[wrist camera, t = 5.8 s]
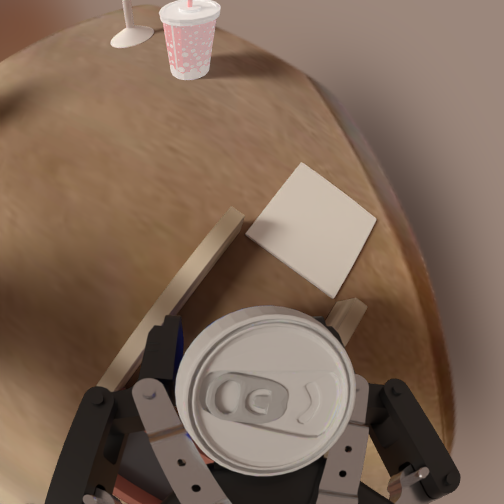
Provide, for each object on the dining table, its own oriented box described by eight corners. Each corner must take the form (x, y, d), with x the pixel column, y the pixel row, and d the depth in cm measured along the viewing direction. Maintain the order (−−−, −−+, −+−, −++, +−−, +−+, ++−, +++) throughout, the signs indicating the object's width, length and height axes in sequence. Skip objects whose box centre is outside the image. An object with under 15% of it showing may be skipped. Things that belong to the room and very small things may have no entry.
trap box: (172, 511, 16) (170, 526, 13) (79, 450, 16) (68, 460, 14) (227, 455, 18) (229, 468, 16) (123, 386, 18) (114, 393, 16)
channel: (239, 461, 18) (244, 481, 15) (112, 377, 18) (96, 385, 15) (347, 309, 23) (367, 306, 19) (228, 222, 23) (231, 205, 20)
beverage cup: (226, 65, 28) (238, -33, 15) (194, 90, 26) (195, -21, 13) (187, 50, 28) (188, -40, 15) (154, 74, 26) (143, -25, 13)
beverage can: (271, 323, 21) (379, 319, 7) (258, 385, 20) (340, 482, 6) (206, 309, 21) (192, 282, 7) (193, 373, 20) (158, 468, 5)
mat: (332, 298, 23) (334, 298, 22) (245, 234, 23) (245, 233, 23) (374, 220, 25) (376, 219, 25) (300, 164, 25) (301, 161, 25)
